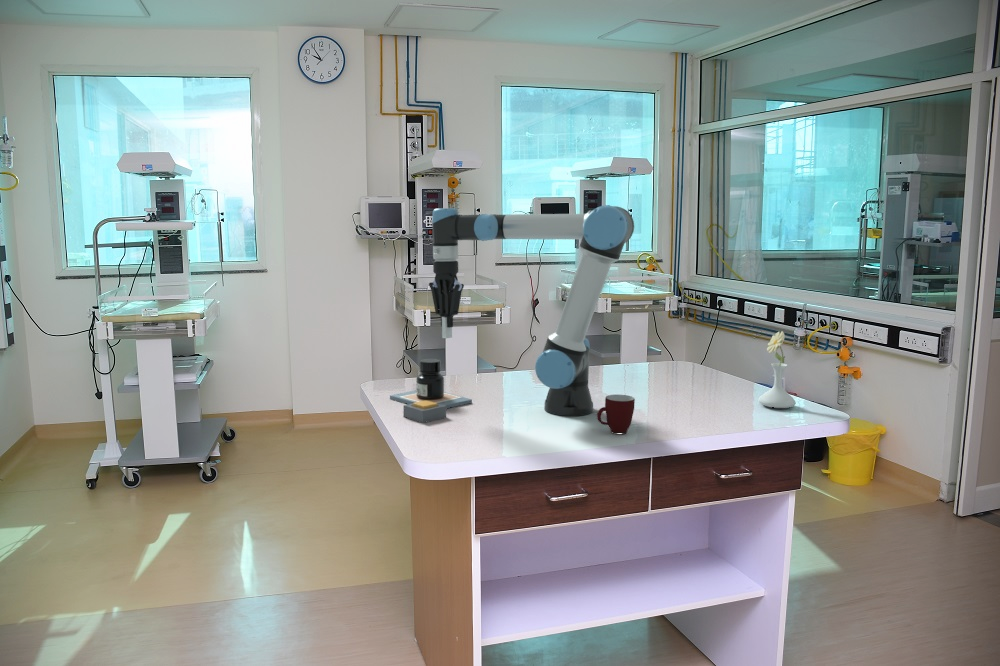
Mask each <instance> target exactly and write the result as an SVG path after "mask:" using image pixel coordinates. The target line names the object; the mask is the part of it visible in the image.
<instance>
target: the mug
mask: <svg viewBox="0 0 1000 666" xmlns="http://www.w3.org/2000/svg"><path fill="white" fill-rule="evenodd" d="M604 398H605V402H604V407H601V408H600V409H599V410H598V411H597V414H596V415H597V416H596V419H597V421H598V422H599V423H600V424H601V425H604V426H608V428H609V430H610V432H611V433H612V432H613V433H612V434H614V433H625V434H626V433H627V432H628V430H629V428H630V427H631V424H632V419H633V415H634V411H635V399H636V398H635V397H633V396H632V395H627V394H609V395H606V396H605V397H604ZM604 412H605V417H606V422H605V421H602V417H601V416H602V414H603V413H604Z"/></svg>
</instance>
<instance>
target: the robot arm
mask: <svg viewBox="0 0 1000 666" xmlns="http://www.w3.org/2000/svg"><path fill="white" fill-rule="evenodd" d="M431 218H432V221H431V222H432V223H431V227H432V257H433V258H432V259H434V261H433V263H432V266H433V267H432V268H433V272H432V273H433V274H435V276H434V280H433V281H432V282H429V283H428V286H429V288H430V290H431V295H432V301H433V306H434V312H435V314H437V315H439V316H440V327H441V329H442V330H441V336H442V337H441V338H442V339H451V338H453V327H454V316H456V315H459V310H460V302H461V297H462V291H463V289H464V287H465V285H464V284H463V283H460V282H459V280H458V277H457V276H458V275H457V274H458V273H459V261H458V259H459V244H458V243H459V241H482V242H484V241H493V240H580V244H579V249H580V252H581V257H580V259H579V262H578V265H577V269H576V270H575V273H574V274H575V275H574V277H573V279H572V283H571V286H570V289H569V292H568V294H567V297H566V301H565V304H564V305H563V306H564V307H563V309H562V312H561V315H560V318H559V320H558V322H557V326H556V329H555V331H554V332H553V333H550V334H549V335H548V336H547V339H546V341H545V344H544V348H543V350H542V352H541V353H540V354H539V355H538V357H537V359H536V361H535V365H534V369H535V370H534V371H535V374H536V377H537V378H538V380H539V381H540V382H541V384H543V385H544V386H546V387H547V388H548V392H547V395H546V398H545V400H544V411H545V412H547V413H549V414H552V415H556V416H557V415H558V416H567V417H571V416H572V417H577V416H578V417H580V416H586V415H589V414H592V413H593V412H594V402H593V400H592V396H591V395H592V394H591V391H590V388H589V373H590V372H589V371H590V369H589V368H590V350H591V348H590V341H589V339H588V338H586V336H587V333H588V329H589V327H590V325H591V321H592V319H593V316H594V313H595V311H596V308H597V305H598V302H599V299H600V296H601V293H602V291H603V287H604V285H605V283H606V280H607V277H608V274H609V271H610V268H611V265H612V264H614V263H616V262H617V261H619V259H620V257H621V255H622V251H623V250H624V246H625V244H626V243H627V242H628V241H629V240H631V238H632V236H633V234H634V230H635V221H634V218H633V216H632V214H631V213H630V212H629V211H628V210H627V209H625V208H624V207H621V206H618V205H617V206H615V205H610V204H609V205H608V204H607V205H606V204H605V205H600V206H598V207H596V208H594V209H590V210H588V211H587V212H586V213H554V214H553V213H540V214H538V213H536V214H535V213H533V214H531V213H530V214H529V213H528V214H527V213H526V214H522V213H521V214H517V213H515V214H491V213H490V214H487V213H485V214H459V213H458V209H457V208H454V207H451V208H450V207H449V208H448V207H447V208H445V207H444V208H443V207H442V208H434V209H433V211H432V217H431Z"/></svg>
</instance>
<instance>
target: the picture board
mask: <svg viewBox="0 0 1000 666" xmlns="http://www.w3.org/2000/svg"><path fill="white" fill-rule="evenodd" d="M392 399H393V400H392ZM389 400H392V401H395V400H396V401H395V402H399V403H402V402H403V404H405V403H407V404H406V405H408V404H413V403H416V402H421V401H425V400H427V399H420V398H418V397H417V393H416V390H411V391H405V392H400V393H396V394H391V395H389ZM427 401H430V402H434V403H438V404H441V405H445V406H446V408H448V409H451V408H450V407H452V408H455V407H454V406H457V407H459V406H458V405H461V406H464V405H463V404H465V405H468V404H467V403H470V404H473V399H472V398H468V397H464V396H460V395H456V394H452V393H449V392H445V391H444V396H443V397H442V398H440V399H431V400H427Z"/></svg>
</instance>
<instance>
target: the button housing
mask: <svg viewBox="0 0 1000 666" xmlns="http://www.w3.org/2000/svg"><path fill="white" fill-rule="evenodd" d="M406 417H407V419H409V418H410V419H409V420H412V419H413V421H415V420H417V421H416V422H419V421H420V422H419V423H422V422H424V423H427V422H426V421H429V422H432V420H433V421H436V419H437V420H440V418H441V419H445V418H447V409H446V406H445V405H441V404H438V403H437V406H436V407H431V408H427V409H421V408H418V407H414V406H413V404H403V418H406ZM444 417H445V418H444Z"/></svg>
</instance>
